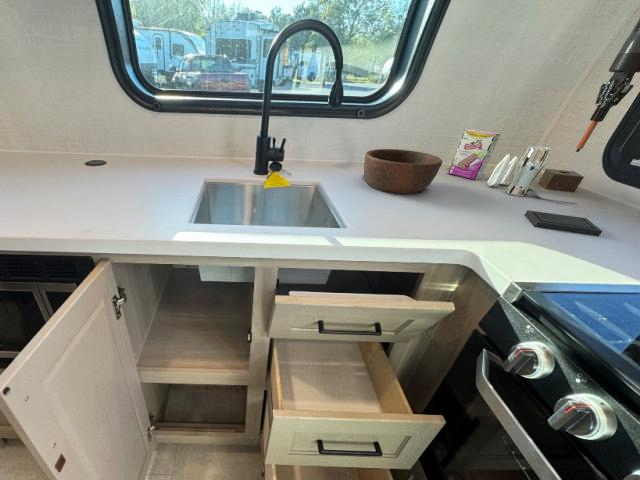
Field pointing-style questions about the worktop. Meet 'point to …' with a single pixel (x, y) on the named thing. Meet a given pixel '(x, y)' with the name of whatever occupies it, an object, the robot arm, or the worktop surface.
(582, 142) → the stylus
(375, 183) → the wooden bowl
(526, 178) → the beer glass
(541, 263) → the worktop surface
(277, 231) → the worktop surface
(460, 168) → the candy bar box
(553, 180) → the stand
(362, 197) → the worktop surface
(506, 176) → the shaker set
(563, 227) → the tablet
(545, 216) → the screen
